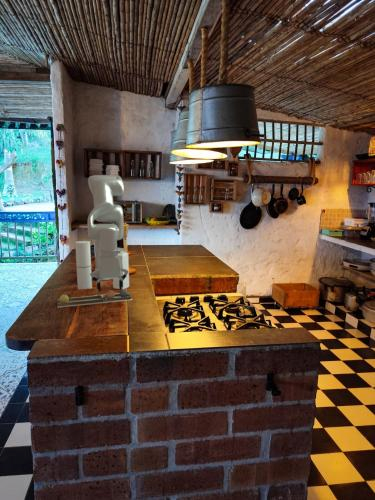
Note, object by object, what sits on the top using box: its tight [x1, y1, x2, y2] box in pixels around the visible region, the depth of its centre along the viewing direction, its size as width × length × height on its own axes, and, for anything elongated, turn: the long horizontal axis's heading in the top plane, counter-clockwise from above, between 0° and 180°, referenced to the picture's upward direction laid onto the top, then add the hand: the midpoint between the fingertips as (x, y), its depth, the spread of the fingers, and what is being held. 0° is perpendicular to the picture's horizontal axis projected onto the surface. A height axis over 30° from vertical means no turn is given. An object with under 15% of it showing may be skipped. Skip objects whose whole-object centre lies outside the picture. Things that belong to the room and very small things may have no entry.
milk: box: [112, 247, 130, 290], centre depth 182 cm, size 6×6×22 cm
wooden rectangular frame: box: [102, 292, 132, 303], centre depth 166 cm, size 6×12×1 cm, turn 109°
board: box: [56, 292, 133, 309], centre depth 164 cm, size 12×33×2 cm, turn 109°
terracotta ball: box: [105, 290, 116, 298], centre depth 164 cm, size 4×4×4 cm
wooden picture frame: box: [56, 294, 103, 307], centre depth 160 cm, size 6×20×1 cm, turn 109°
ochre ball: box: [59, 294, 70, 303], centre depth 158 cm, size 4×4×4 cm
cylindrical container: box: [74, 240, 93, 290], centre depth 181 cm, size 7×7×25 cm
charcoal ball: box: [119, 288, 129, 297], centre depth 166 cm, size 4×4×4 cm
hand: (110, 289), depth 164 cm, fingers open, 9 cm apart
